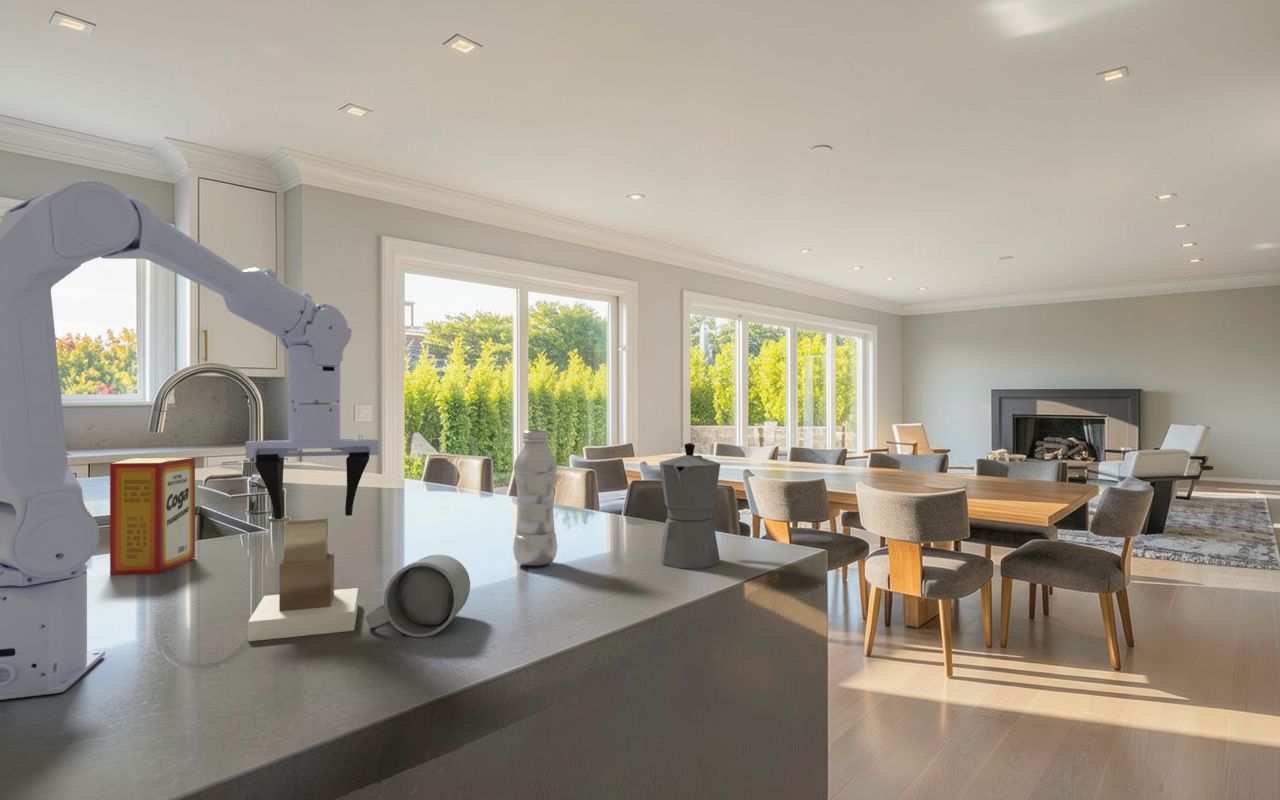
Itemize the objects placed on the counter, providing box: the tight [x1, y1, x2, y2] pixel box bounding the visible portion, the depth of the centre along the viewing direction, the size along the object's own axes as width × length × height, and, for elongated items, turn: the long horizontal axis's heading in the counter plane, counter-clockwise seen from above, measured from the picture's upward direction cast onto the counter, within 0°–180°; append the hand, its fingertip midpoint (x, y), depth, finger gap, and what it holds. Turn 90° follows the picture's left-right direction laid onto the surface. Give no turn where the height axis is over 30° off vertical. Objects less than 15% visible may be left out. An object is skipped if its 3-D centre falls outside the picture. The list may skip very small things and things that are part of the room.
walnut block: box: [278, 551, 335, 611], centre depth 78 cm, size 5×5×5 cm
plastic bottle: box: [512, 429, 558, 567], centre depth 105 cm, size 6×7×20 cm
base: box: [247, 587, 359, 642], centre depth 78 cm, size 10×10×2 cm
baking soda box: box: [109, 457, 196, 576], centre depth 104 cm, size 10×6×16 cm
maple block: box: [283, 517, 329, 563], centre depth 78 cm, size 4×4×4 cm
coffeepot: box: [658, 442, 721, 570], centre depth 108 cm, size 15×9×18 cm, turn 164°
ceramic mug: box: [365, 554, 471, 638], centre depth 77 cm, size 11×8×8 cm
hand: (314, 516), depth 85 cm, fingers open, 7 cm apart
